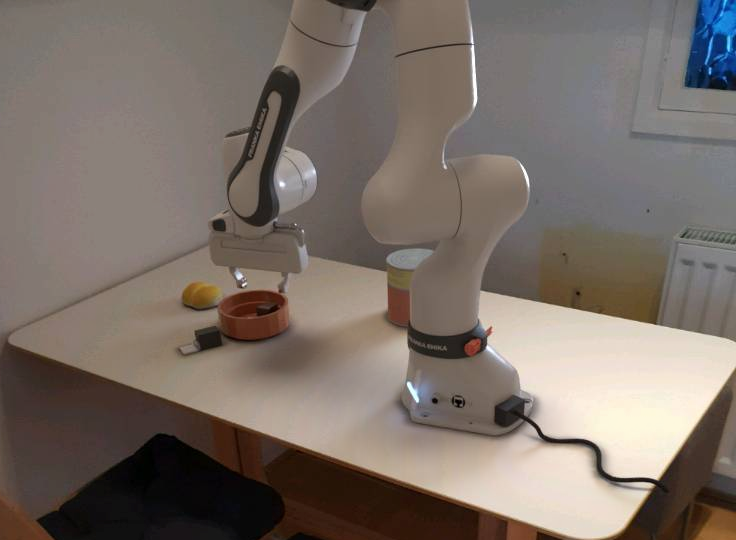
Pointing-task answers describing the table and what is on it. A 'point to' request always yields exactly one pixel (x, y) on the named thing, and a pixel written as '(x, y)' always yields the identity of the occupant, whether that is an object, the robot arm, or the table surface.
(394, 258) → the canned food
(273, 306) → the block
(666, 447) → the table surface
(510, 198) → the robot arm
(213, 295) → the bread roll
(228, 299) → the bowl
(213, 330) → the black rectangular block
